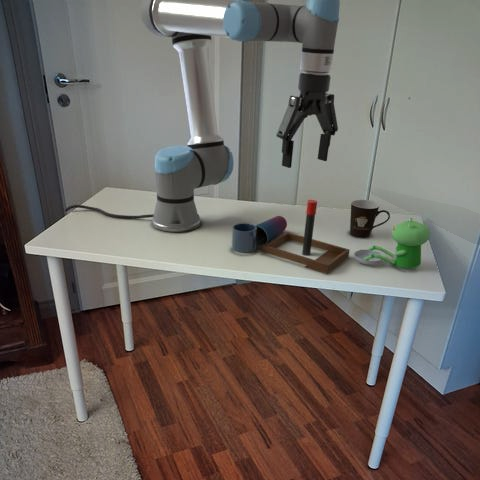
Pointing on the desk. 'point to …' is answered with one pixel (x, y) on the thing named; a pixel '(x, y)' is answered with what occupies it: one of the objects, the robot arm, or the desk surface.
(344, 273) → the desk surface
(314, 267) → the pen tray
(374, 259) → the shallow grey dish
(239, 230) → the pen cup
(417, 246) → the toy character
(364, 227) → the coffee mug
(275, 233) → the cup
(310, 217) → the marker
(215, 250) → the desk surface
